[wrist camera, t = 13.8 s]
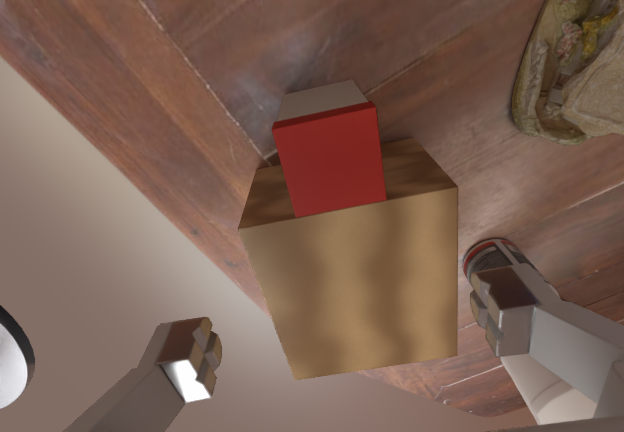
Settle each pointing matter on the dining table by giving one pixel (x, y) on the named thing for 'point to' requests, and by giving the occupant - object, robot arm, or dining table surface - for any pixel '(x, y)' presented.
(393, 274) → the block
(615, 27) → the ceramic model
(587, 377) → the robot arm
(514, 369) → the jar
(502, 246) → the pill bottle
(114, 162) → the dining table surface
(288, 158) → the container
